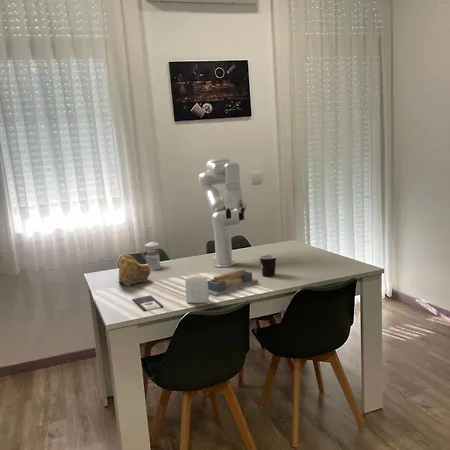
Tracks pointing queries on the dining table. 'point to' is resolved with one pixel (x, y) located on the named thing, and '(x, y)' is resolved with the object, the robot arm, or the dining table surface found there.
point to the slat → (231, 277)
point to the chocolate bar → (147, 303)
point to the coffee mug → (268, 265)
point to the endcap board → (221, 287)
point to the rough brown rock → (132, 270)
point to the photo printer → (197, 289)
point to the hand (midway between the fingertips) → (235, 219)
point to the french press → (156, 257)
